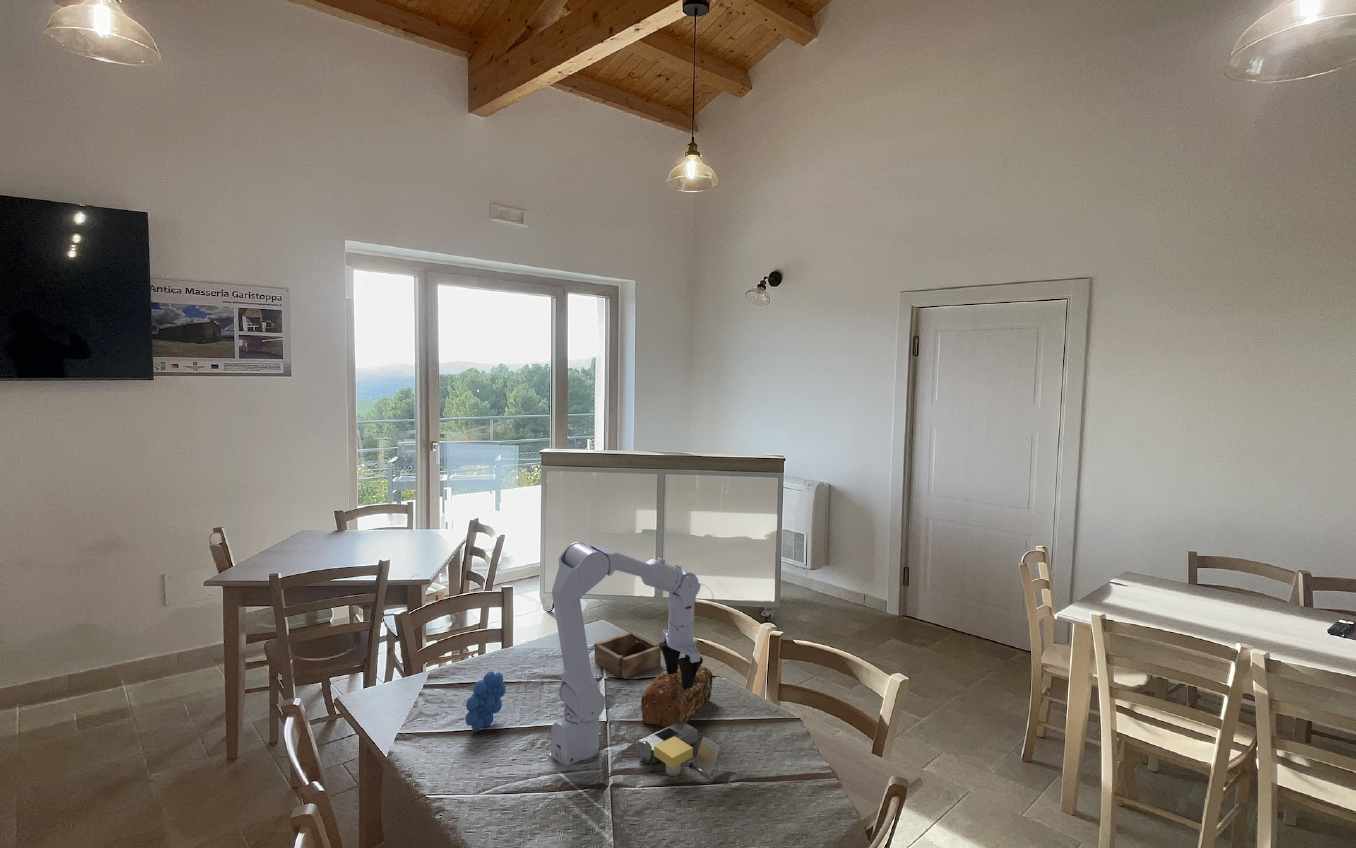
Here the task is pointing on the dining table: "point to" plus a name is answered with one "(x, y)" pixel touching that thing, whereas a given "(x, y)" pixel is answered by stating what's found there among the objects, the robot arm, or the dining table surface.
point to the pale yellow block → (673, 754)
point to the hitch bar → (678, 730)
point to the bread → (675, 698)
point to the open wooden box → (631, 665)
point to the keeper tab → (706, 757)
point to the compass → (634, 649)
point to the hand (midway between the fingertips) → (679, 680)
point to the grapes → (485, 701)
